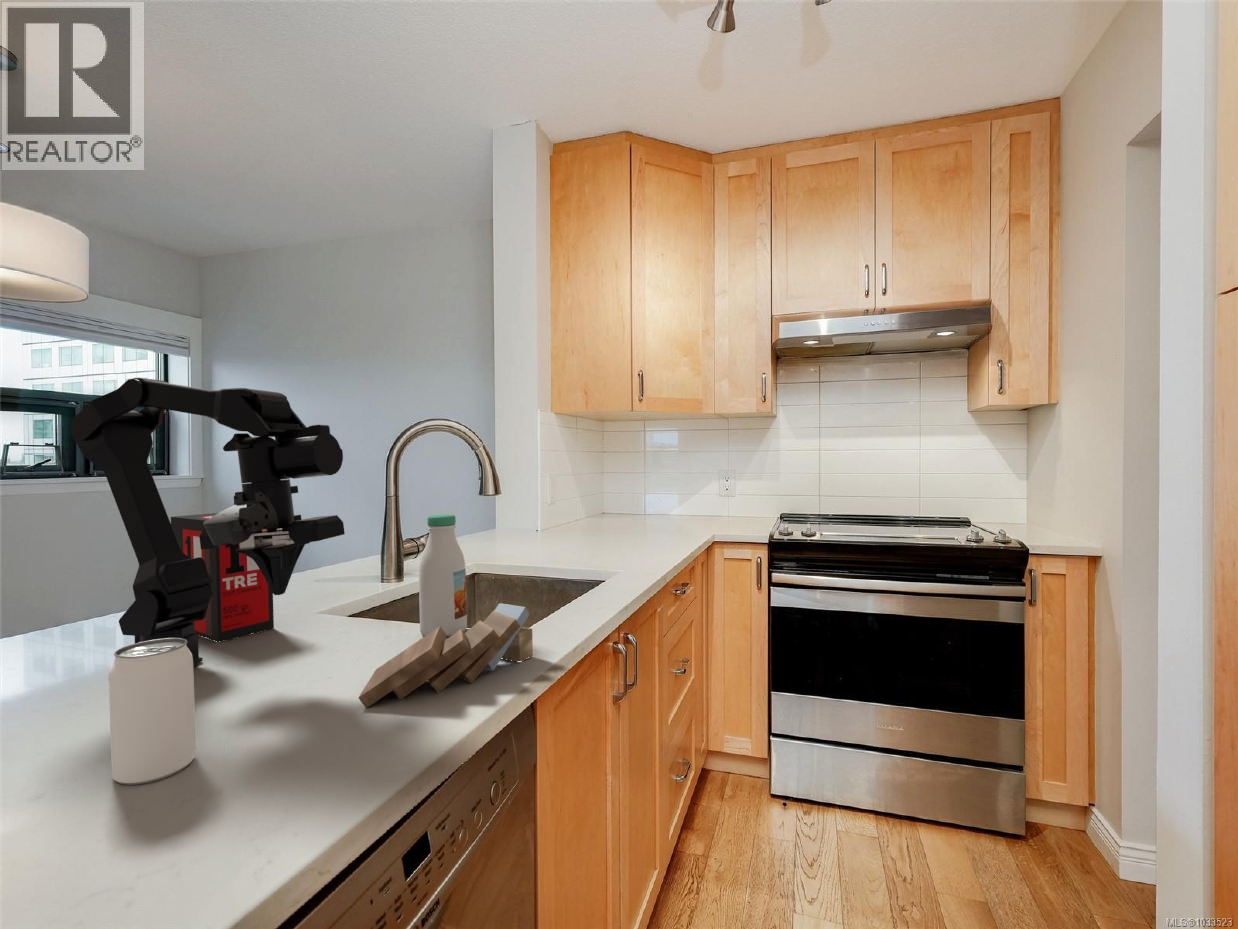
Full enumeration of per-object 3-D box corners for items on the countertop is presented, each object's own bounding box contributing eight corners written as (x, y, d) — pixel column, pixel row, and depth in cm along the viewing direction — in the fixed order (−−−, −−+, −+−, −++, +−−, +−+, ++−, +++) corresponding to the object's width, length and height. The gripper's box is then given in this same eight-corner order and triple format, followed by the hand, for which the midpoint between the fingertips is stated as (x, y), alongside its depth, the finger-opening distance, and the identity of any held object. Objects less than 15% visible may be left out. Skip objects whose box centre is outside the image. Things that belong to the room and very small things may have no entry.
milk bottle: (441, 641, 96) (439, 518, 96) (410, 634, 100) (407, 516, 100) (476, 629, 103) (474, 514, 102) (445, 623, 107) (443, 512, 107)
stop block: (519, 663, 86) (519, 634, 86) (488, 656, 89) (487, 628, 89) (532, 656, 88) (532, 628, 88) (501, 650, 91) (501, 623, 91)
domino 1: (358, 697, 71) (430, 648, 72) (376, 669, 80) (440, 626, 82) (366, 708, 71) (438, 659, 73) (383, 678, 81) (446, 635, 82)
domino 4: (465, 675, 78) (515, 619, 83) (443, 664, 81) (493, 610, 87) (471, 683, 78) (520, 626, 84) (449, 672, 82) (498, 618, 88)
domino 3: (431, 684, 75) (493, 629, 79) (420, 671, 79) (480, 620, 84) (438, 693, 75) (499, 638, 80) (427, 680, 80) (486, 628, 84)
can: (143, 753, 61) (140, 637, 61) (210, 750, 62) (207, 635, 61) (93, 789, 55) (89, 659, 54) (168, 785, 55) (164, 656, 55)
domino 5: (488, 663, 81) (525, 607, 88) (461, 657, 83) (499, 603, 90) (493, 671, 82) (529, 614, 88) (466, 664, 84) (503, 610, 91)
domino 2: (392, 689, 73) (462, 639, 76) (395, 675, 78) (461, 629, 80) (400, 699, 74) (469, 649, 76) (402, 685, 78) (467, 638, 81)
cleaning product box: (173, 628, 106) (170, 516, 106) (228, 616, 114) (225, 512, 113) (218, 642, 97) (214, 521, 97) (273, 628, 105) (270, 516, 105)
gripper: (153, 492, 75) (169, 614, 76) (277, 481, 71) (292, 609, 72) (229, 485, 86) (242, 591, 87) (340, 474, 82) (353, 586, 82)
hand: (279, 594), depth 82 cm, fingers closed
